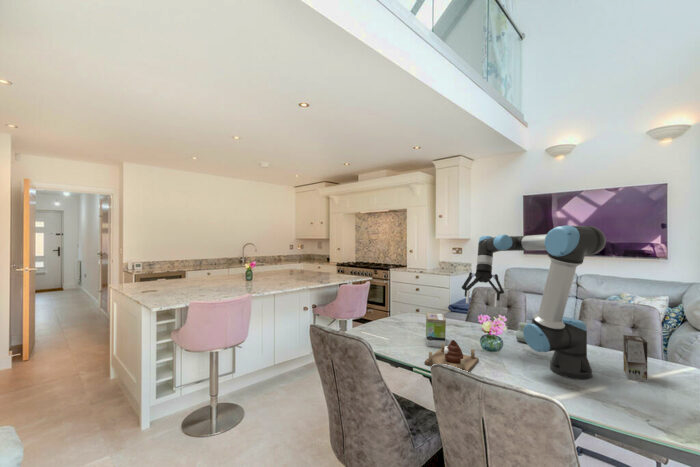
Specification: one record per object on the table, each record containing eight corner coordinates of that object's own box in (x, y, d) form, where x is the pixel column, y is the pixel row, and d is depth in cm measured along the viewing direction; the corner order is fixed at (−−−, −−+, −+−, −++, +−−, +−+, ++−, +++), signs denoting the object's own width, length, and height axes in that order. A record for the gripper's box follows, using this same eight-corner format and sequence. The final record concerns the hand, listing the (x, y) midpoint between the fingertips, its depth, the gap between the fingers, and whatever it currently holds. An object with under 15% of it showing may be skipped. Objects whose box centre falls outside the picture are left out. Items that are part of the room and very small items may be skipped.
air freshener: (533, 345, 172) (532, 326, 172) (515, 342, 176) (515, 324, 176) (533, 339, 181) (533, 322, 181) (517, 337, 185) (517, 320, 186)
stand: (478, 360, 151) (478, 349, 151) (466, 374, 136) (466, 361, 136) (439, 352, 162) (439, 341, 162) (424, 364, 147) (424, 352, 147)
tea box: (446, 347, 169) (445, 319, 169) (426, 346, 171) (426, 318, 171) (443, 338, 184) (443, 313, 184) (425, 337, 186) (425, 312, 186)
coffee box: (648, 382, 128) (647, 342, 128) (627, 379, 131) (626, 339, 131) (642, 374, 135) (642, 336, 136) (623, 371, 139) (622, 334, 139)
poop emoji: (463, 364, 143) (462, 343, 143) (443, 362, 146) (443, 341, 146) (463, 356, 152) (463, 337, 152) (444, 354, 155) (444, 335, 155)
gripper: (511, 268, 164) (509, 309, 158) (461, 265, 178) (457, 303, 172) (509, 264, 158) (507, 307, 152) (458, 261, 172) (454, 300, 166)
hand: (481, 305), depth 162 cm, fingers open, 13 cm apart
